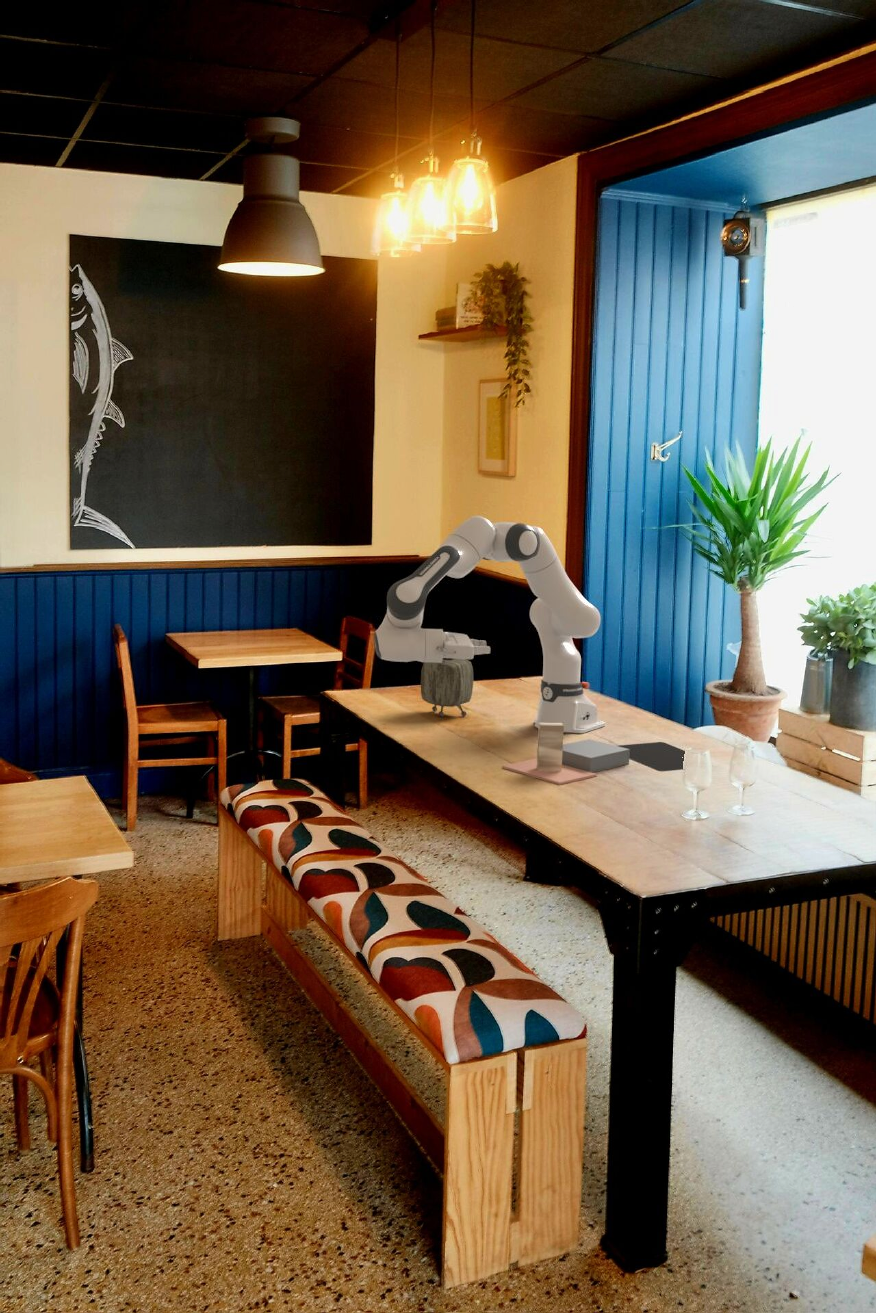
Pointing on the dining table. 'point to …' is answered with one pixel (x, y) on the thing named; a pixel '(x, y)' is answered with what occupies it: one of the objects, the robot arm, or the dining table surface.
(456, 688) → the tabletop clock
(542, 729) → the birch plaque
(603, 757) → the block
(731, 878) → the dining table surface
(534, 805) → the dining table surface
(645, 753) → the tablet
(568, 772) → the terracotta mat
